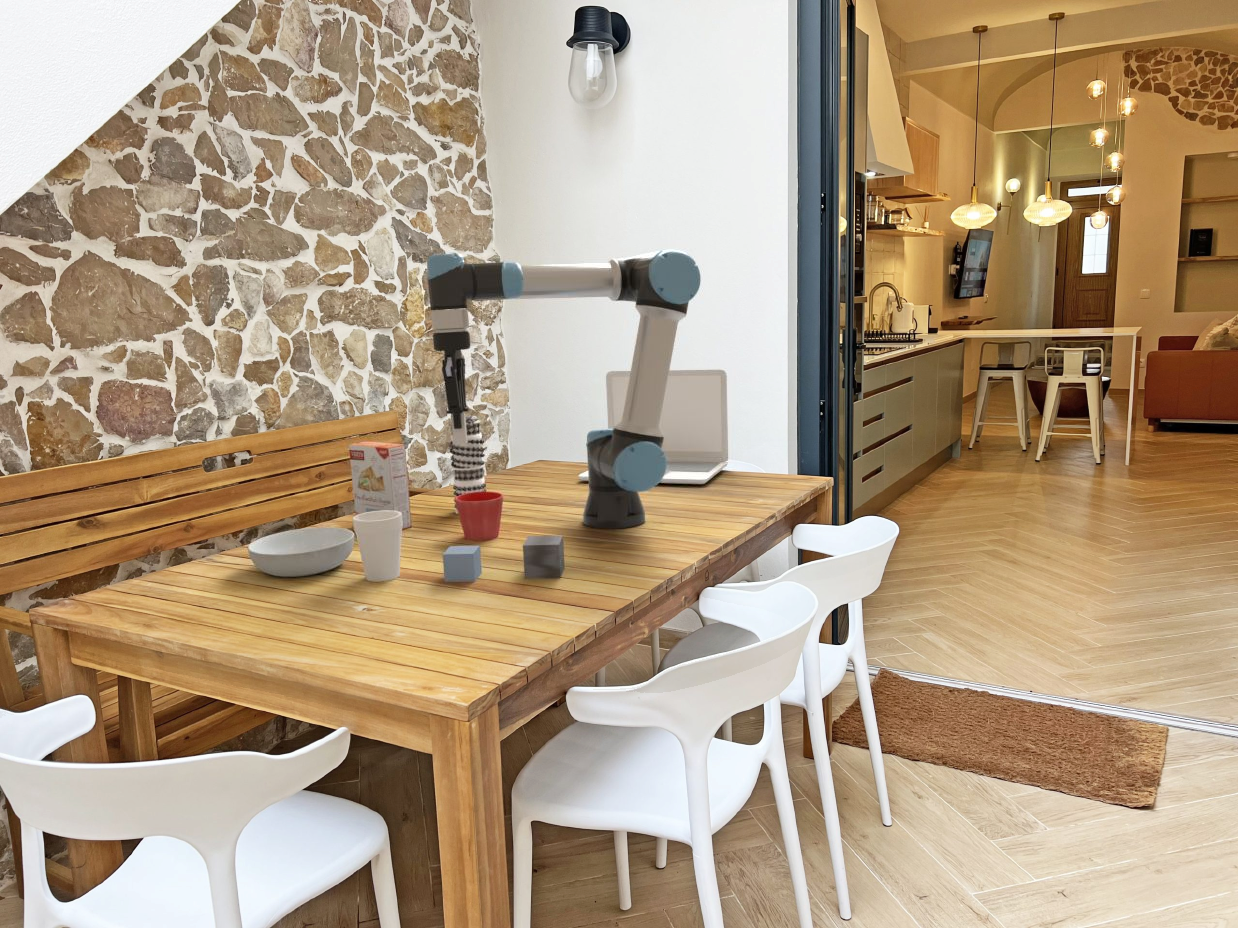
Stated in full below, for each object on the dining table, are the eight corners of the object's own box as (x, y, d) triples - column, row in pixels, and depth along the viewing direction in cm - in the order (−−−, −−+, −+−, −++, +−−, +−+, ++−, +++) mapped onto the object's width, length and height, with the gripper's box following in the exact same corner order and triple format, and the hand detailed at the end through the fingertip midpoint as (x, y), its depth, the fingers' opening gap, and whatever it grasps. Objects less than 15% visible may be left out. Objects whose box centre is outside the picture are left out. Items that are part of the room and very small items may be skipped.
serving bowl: (249, 566, 196) (246, 535, 195) (350, 552, 204) (347, 522, 203) (252, 593, 177) (248, 558, 176) (363, 576, 185) (360, 543, 184)
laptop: (576, 481, 276) (571, 379, 270) (611, 463, 304) (607, 370, 299) (706, 485, 263) (703, 377, 257) (729, 466, 291) (727, 369, 286)
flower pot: (497, 543, 207) (494, 501, 205) (451, 542, 209) (448, 500, 207) (511, 531, 217) (509, 491, 215) (467, 531, 219) (465, 491, 217)
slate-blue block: (481, 574, 183) (479, 545, 182) (475, 583, 177) (473, 553, 176) (452, 575, 183) (450, 546, 182) (444, 584, 178) (442, 554, 177)
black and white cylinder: (492, 506, 245) (486, 413, 240) (484, 514, 236) (477, 418, 231) (459, 507, 246) (452, 414, 241) (449, 515, 236) (442, 419, 232)
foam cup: (416, 574, 185) (411, 511, 182) (390, 588, 176) (385, 522, 174) (375, 571, 188) (370, 509, 186) (348, 584, 179) (342, 520, 177)
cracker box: (355, 527, 228) (347, 444, 224) (373, 521, 233) (366, 440, 229) (394, 533, 220) (387, 447, 216) (412, 527, 225) (406, 443, 221)
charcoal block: (564, 569, 184) (563, 535, 183) (560, 579, 178) (558, 544, 176) (530, 569, 185) (528, 536, 184) (524, 580, 178) (522, 545, 177)
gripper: (439, 330, 196) (449, 439, 200) (425, 333, 183) (436, 449, 187) (474, 328, 196) (483, 437, 200) (463, 331, 183) (472, 447, 187)
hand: (460, 443), depth 194 cm, fingers closed
